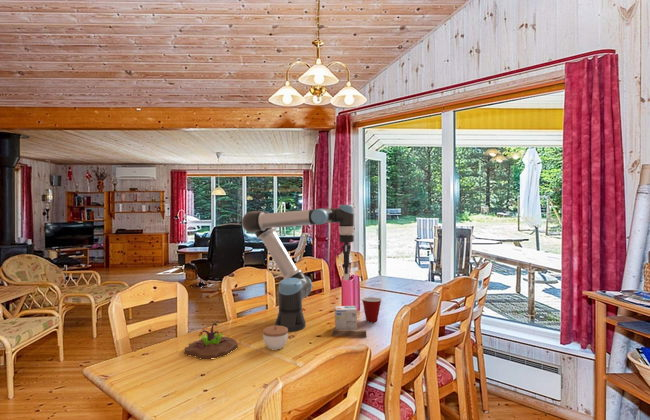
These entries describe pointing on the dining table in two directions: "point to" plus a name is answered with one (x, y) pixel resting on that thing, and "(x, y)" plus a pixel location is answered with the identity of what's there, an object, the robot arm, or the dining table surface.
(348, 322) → the light bulb box
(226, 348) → the plant
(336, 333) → the walnut stop rail
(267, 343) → the lidded jar
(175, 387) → the dining table surface
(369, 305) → the plastic cup
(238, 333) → the dining table surface
